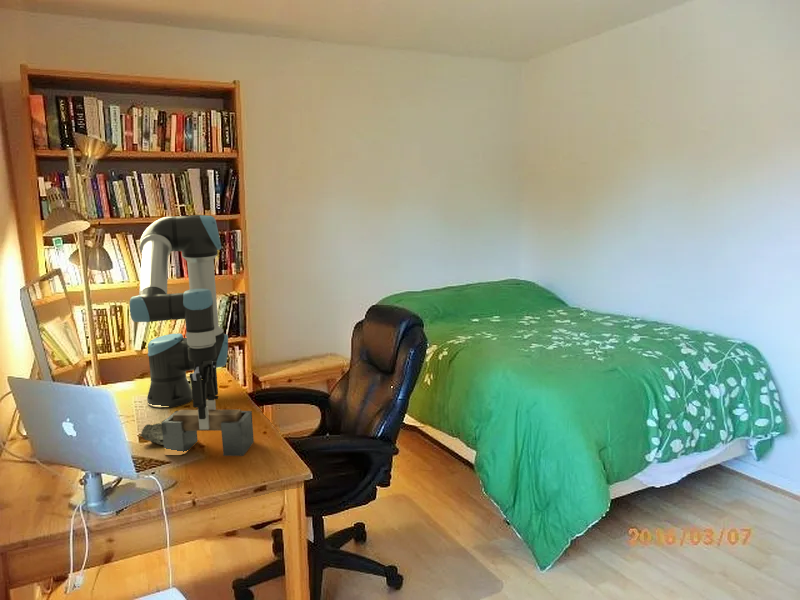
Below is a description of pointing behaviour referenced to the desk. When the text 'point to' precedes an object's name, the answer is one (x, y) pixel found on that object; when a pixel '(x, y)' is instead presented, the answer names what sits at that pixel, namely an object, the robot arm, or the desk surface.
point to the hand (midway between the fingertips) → (208, 425)
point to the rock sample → (153, 433)
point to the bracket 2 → (237, 435)
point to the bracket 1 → (177, 435)
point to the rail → (215, 418)
